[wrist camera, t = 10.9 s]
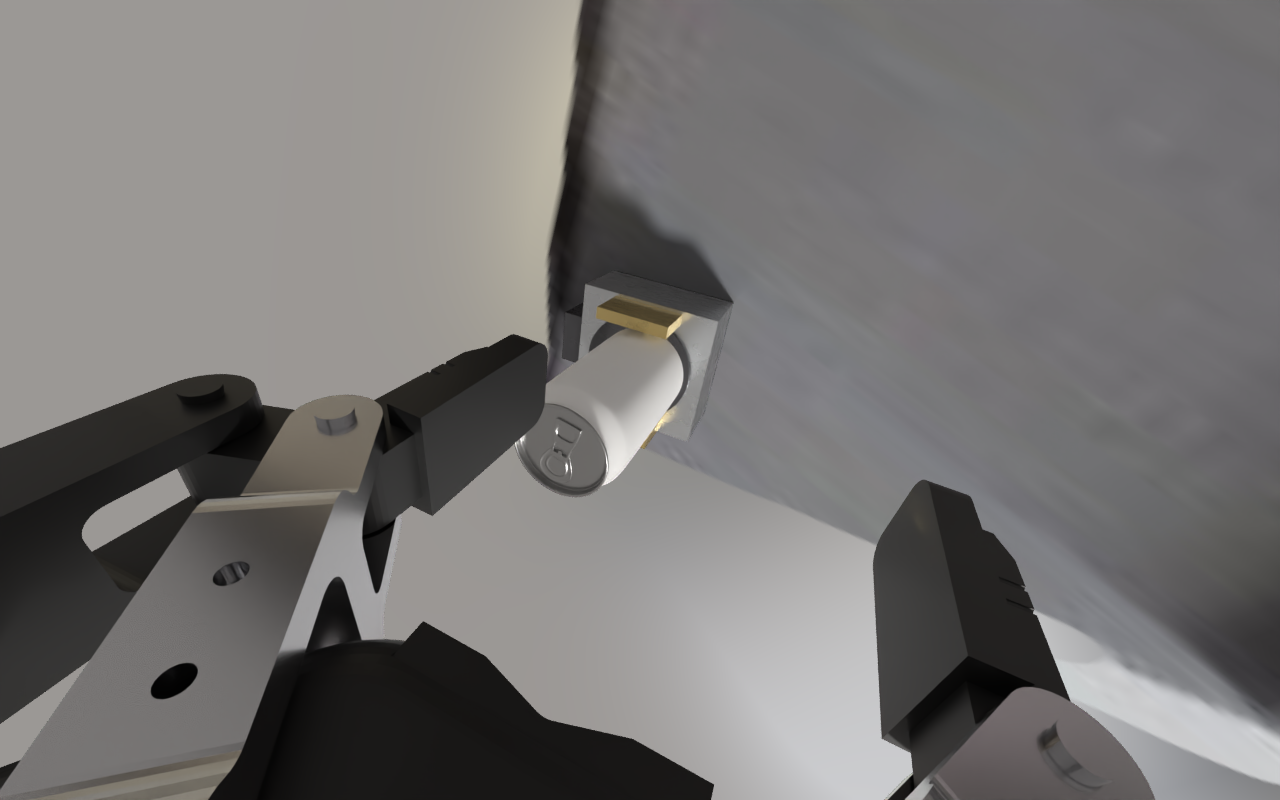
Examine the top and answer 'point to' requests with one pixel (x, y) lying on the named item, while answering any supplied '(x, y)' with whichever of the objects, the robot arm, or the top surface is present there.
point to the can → (601, 412)
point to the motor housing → (660, 313)
